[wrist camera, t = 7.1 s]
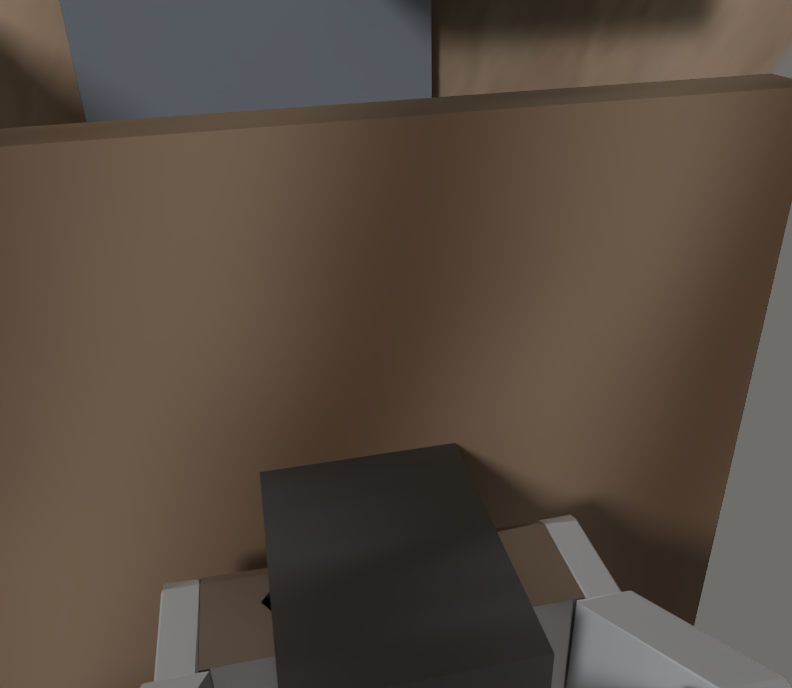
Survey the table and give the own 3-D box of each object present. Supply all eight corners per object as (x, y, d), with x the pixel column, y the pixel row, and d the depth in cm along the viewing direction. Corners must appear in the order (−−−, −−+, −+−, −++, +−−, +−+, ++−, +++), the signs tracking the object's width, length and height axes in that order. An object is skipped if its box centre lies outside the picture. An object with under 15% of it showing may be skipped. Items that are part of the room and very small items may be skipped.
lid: (771, 73, 11) (1126, 163, 7) (651, 671, 17) (796, 916, 13) (-225, 144, 9) (-639, 344, 5) (49, 798, 15) (-15, 1142, 11)
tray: (427, -31, 30) (431, -30, 30) (429, 288, 37) (432, 293, 37) (58, -16, 28) (56, -15, 28) (132, 322, 35) (131, 328, 34)
